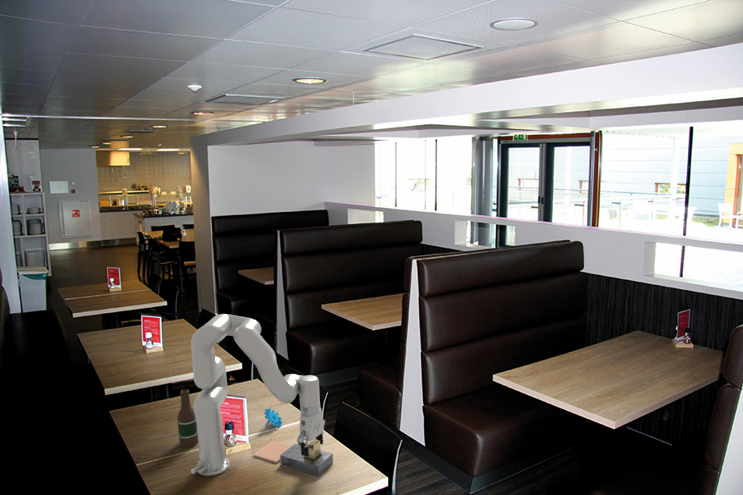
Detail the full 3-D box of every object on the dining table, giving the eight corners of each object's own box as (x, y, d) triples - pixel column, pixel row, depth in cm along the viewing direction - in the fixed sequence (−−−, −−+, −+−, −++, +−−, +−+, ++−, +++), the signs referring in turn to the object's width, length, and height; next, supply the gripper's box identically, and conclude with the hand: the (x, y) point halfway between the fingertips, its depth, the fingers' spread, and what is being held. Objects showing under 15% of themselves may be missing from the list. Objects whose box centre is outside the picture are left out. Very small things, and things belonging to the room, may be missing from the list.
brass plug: (314, 470, 207) (313, 445, 206) (305, 467, 209) (304, 443, 208) (321, 464, 211) (319, 440, 209) (311, 461, 213) (310, 438, 212)
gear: (277, 428, 237) (262, 411, 239) (268, 437, 238) (254, 419, 240) (287, 420, 248) (273, 403, 250) (278, 428, 249) (264, 412, 251)
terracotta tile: (276, 463, 212) (276, 461, 212) (253, 456, 218) (253, 454, 218) (295, 449, 223) (294, 447, 223) (272, 442, 229) (272, 440, 228)
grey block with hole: (318, 476, 203) (318, 466, 202) (280, 464, 212) (280, 455, 211) (333, 463, 212) (332, 453, 211) (296, 452, 220) (295, 443, 220)
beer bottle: (175, 445, 228) (170, 392, 225) (189, 437, 235) (184, 385, 232) (189, 449, 225) (184, 395, 221) (202, 441, 232) (198, 388, 228)
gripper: (305, 419, 197) (307, 462, 200) (330, 400, 212) (332, 441, 215) (288, 415, 201) (291, 458, 203) (315, 397, 216) (317, 437, 218)
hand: (312, 449), depth 209 cm, fingers open, 9 cm apart
